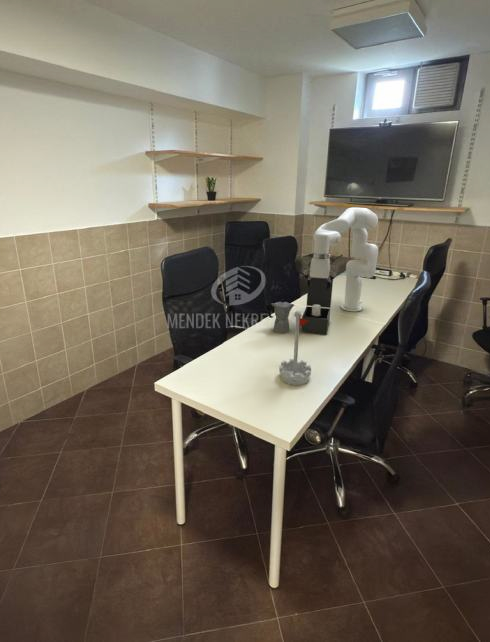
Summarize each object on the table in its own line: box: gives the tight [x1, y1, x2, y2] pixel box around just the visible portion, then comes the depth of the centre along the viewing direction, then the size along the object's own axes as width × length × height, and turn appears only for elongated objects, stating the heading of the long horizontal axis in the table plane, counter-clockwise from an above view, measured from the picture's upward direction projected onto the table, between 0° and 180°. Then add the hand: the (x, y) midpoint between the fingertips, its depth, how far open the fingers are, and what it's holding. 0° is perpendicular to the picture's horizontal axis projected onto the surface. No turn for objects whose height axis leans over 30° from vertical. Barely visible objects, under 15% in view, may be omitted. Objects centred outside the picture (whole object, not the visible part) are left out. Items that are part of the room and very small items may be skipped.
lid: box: [306, 273, 334, 309], centre depth 206 cm, size 18×14×5 cm
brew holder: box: [310, 313, 322, 318], centre depth 196 cm, size 6×6×9 cm
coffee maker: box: [300, 305, 331, 336], centre depth 199 cm, size 18×14×9 cm
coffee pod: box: [311, 304, 322, 316], centre depth 194 cm, size 4×4×5 cm
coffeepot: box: [265, 298, 296, 334], centre depth 195 cm, size 15×9×18 cm, turn 92°
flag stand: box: [278, 310, 312, 386], centre depth 145 cm, size 13×13×30 cm
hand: (318, 287), depth 191 cm, fingers open, 9 cm apart
